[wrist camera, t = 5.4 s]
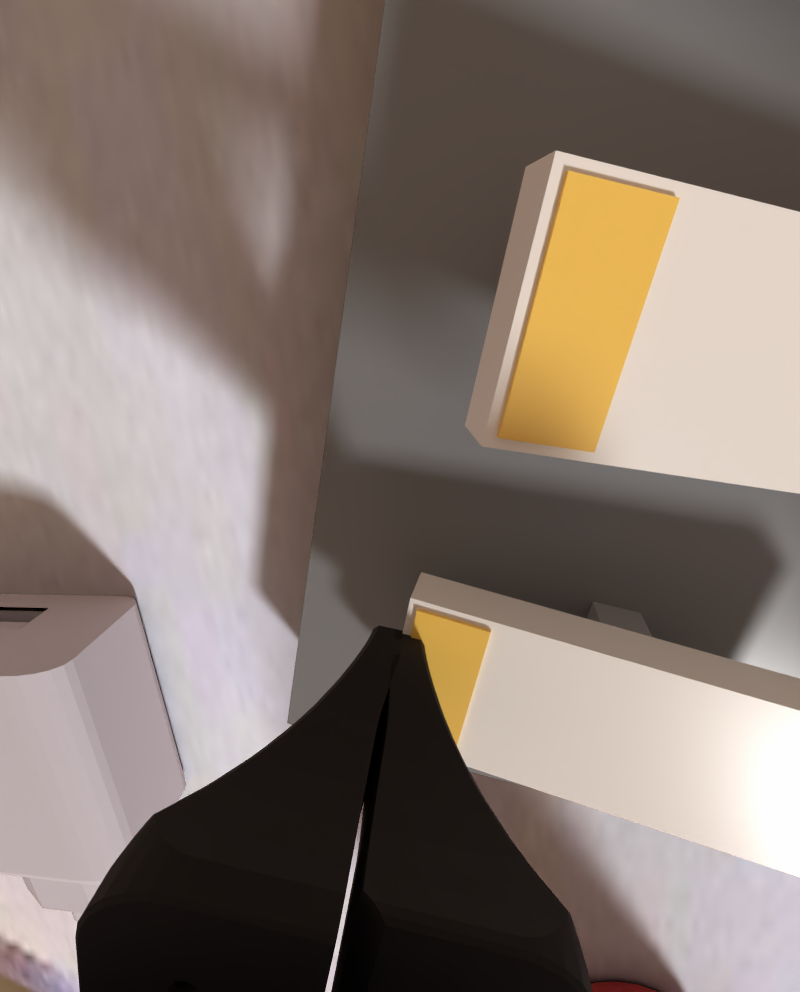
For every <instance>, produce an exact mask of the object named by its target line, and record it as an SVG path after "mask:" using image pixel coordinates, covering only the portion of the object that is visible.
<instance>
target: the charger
mask: <svg viewBox="0 0 800 992" xmlns="http://www.w3.org/2000/svg"><path fill="white" fill-rule="evenodd" d="M0 607H29V608H49V609H47V610H46V611H6V610H0V874H2V875H11V876H19V877H23V879H24V882H25V884H26V886H27V888H28V890H29V891H30V892H31V893H32V895H33V896H34V897H35V899H36V900H37V901H38V903H39V904H40V905H41V907H42V908H46V909H54V910H61V911H69V912H72V914H73V917H74V919H75V920H76V921H78V920H79V919H80V917H81V915H82V914H83V912H84V910H85V909H86V907H87V905H88V904H89V902H90V900H91V899H92V897H93V895H94V894H95V892H96V890H97V889H98V887H99V885H100V884H101V882H102V881H103V879H104V877H105V876H106V874H107V872H108V871H109V869H110V868H111V866H112V865H113V864H114V862H115V861H116V859H117V858H118V857H119V855H120V854H121V853H122V852H123V850H124V849H125V848H126V846H127V845H128V844H129V843H130V841H131V840H132V839H133V837H134V836H135V835H136V834H137V833H138V831H139V830H140V829H141V828H142V827H143V826H144V824H145V823H146V822H147V821H148V820H149V819H150V817H151V816H152V815H153V814H155V813H157V812H159V811H161V810H163V809H165V808H166V807H168V806H170V805H172V804H174V803H176V802H177V801H178V800H179V798H180V796H181V795H182V793H183V791H184V790H185V786H186V781H185V778H184V774H183V770H182V767H181V763H180V759H179V756H178V752H177V749H176V745H175V741H174V738H173V734H172V731H171V727H170V723H169V720H168V716H167V712H166V709H165V705H164V702H163V698H162V694H161V691H160V687H159V683H158V680H157V676H156V673H155V669H154V665H153V662H152V658H151V655H150V651H149V647H148V644H147V640H146V636H145V633H144V629H143V626H142V622H141V618H140V615H139V611H138V607H137V604H136V601H135V599H134V598H132V597H130V596H102V595H50V594H0Z"/></svg>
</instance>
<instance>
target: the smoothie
mask: <svg viewBox="0 0 800 992" xmlns="http://www.w3.org/2000/svg"><path fill="white" fill-rule="evenodd" d="M591 988H592V992H657V991H655V990H652V989H649V988H646V987H643V986H640V985H637V984H632V983H624V982H617V981H612V982H596V983H592V984H591Z"/></svg>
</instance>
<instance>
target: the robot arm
mask: <svg viewBox="0 0 800 992" xmlns="http://www.w3.org/2000/svg"><path fill="white" fill-rule="evenodd" d="M402 633H403V631H402V630H398V629H393V628H389V627H384V626H380V625H379V626H377V627H375V628H373V631H372V633H371V635H370V637H369V639H368V640H367V642H366V644H365V645H364V647H363V648H362V650H361V651H360V652H359V654H358V655H357V657H356V658H355V659H354V661H353V662H352V663H351V664H350V666H349V667H348V668H347V669H346V671H345V672H344V673H343V674H342V675H341V677H340V678H339V679H338V680H337V681H336V682H335V684H334V685H333V686H332V687H331V688H330V689H329V690H328V691H327V692H326V693H325V694H324V695H323V696H322V697H321V698H320V699H319V701H318V702H317V703H316V704H315V705H314V706H313V707H311V708H310V709H309V710H308V711H307V712H306V713H305V714H304V715H303V716H302V717H301V718H300V719H299V720H297V721H296V722H295V723H294V724H293V725H292V726H291V727H289V728H288V729H287V730H286V731H285V732H283V733H282V734H281V735H280V736H278V737H277V738H276V739H274V740H273V741H272V742H271V743H269V744H268V745H267V746H266V747H264V748H263V749H262V750H260V751H259V752H257V753H256V754H255V755H253V756H252V757H251V758H249V759H248V760H246V761H245V762H243V763H241V764H240V765H238V766H237V767H235V768H234V769H232V770H231V771H229V772H228V773H226V774H224V775H223V776H221V777H220V778H218V779H217V780H215V781H214V782H212V783H210V784H209V785H207V786H205V787H203V788H202V789H200V790H198V791H196V792H194V793H192V794H191V795H189V796H187V797H185V798H183V799H181V800H179V801H178V802H176V803H174V804H172V805H170V806H168V807H166V808H165V809H163V810H161V811H159V812H157V813H155V814H153V815H152V816H151V817H150V819H149V820H148V821H147V822H146V823H145V824H144V826H143V827H142V828H141V829H140V830H139V831H138V833H137V834H136V835H135V836H134V837H133V839H132V840H131V841H130V843H129V844H128V845H127V846H126V848H125V849H124V850H123V852H122V853H121V854H120V855H119V857H118V858H117V859H116V861H115V862H114V864H113V865H112V866H111V868H110V869H109V871H108V872H107V874H106V876H105V877H104V879H103V881H102V882H101V884H100V885H99V887H98V889H97V890H96V892H95V894H94V895H93V897H92V899H91V900H90V902H89V904H88V905H87V907H86V909H85V910H84V912H83V914H82V915H81V917H80V919H79V920H78V923H77V930H76V950H77V962H78V975H79V988H80V992H325V988H326V984H327V980H328V975H329V971H330V966H331V962H332V957H333V953H334V949H335V944H336V939H337V934H338V929H339V924H340V919H341V914H342V909H343V904H344V899H345V894H346V888H347V883H348V877H349V872H350V866H351V861H352V856H353V850H354V845H355V840H356V834H357V829H358V823H359V818H360V813H361V810H362V806H363V803H364V807H363V817H362V826H361V835H360V842H359V849H358V856H357V862H356V868H355V873H354V878H353V883H352V888H351V894H350V899H349V904H348V909H347V914H346V919H345V925H344V930H343V935H342V940H341V945H340V950H339V955H338V961H337V966H336V971H335V976H334V981H333V986H332V991H331V992H592V988H591V983H590V979H589V974H588V970H587V967H586V963H585V960H584V956H583V953H582V949H581V946H580V942H579V939H578V936H577V933H576V930H575V927H574V923H573V921H572V918H571V915H570V913H569V912H568V910H567V909H566V908H565V907H564V906H563V905H562V903H561V902H560V901H559V900H558V899H557V897H556V896H555V895H554V894H553V893H552V891H551V890H550V889H549V888H548V887H547V885H546V884H545V883H544V882H543V881H542V879H541V878H540V877H539V876H538V875H537V873H536V872H535V871H534V870H533V869H532V867H531V866H530V865H529V864H528V862H527V861H526V859H525V858H524V857H523V855H522V854H521V853H520V851H519V850H518V848H517V847H516V846H515V844H514V843H513V842H512V840H511V839H510V837H509V836H508V834H507V833H506V831H505V830H504V828H503V826H502V825H501V823H500V822H499V820H498V819H497V817H496V816H495V814H494V812H493V811H492V809H491V808H490V806H489V805H488V803H487V802H486V800H485V798H484V797H483V795H482V793H481V792H480V790H479V788H478V786H477V784H476V783H475V781H474V779H473V777H472V775H471V774H470V772H469V770H468V768H467V766H466V764H465V762H464V760H463V758H462V756H461V754H460V752H459V750H458V747H457V745H456V743H455V741H454V739H453V736H452V734H451V731H450V729H449V727H448V724H447V722H446V719H445V717H444V714H443V711H442V709H441V706H440V703H439V700H438V697H437V694H436V691H435V688H434V685H433V681H432V678H431V674H430V670H429V666H428V662H427V657H426V652H425V645H424V644H423V642H422V641H421V640H419V639H415V638H411V636H410V635H406V634H402Z"/></svg>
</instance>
